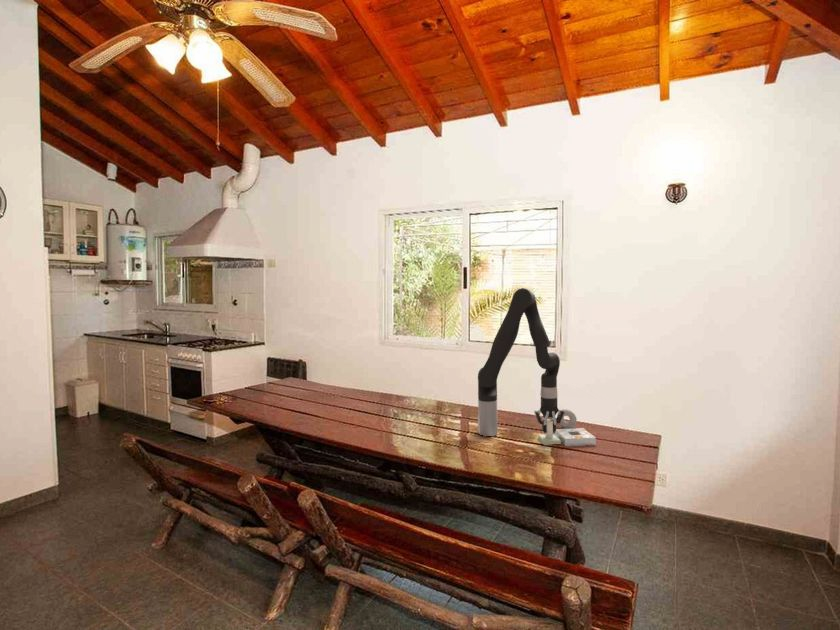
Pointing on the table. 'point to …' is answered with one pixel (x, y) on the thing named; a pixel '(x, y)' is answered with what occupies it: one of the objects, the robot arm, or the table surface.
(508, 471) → the table surface
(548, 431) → the peg
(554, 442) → the square base plate
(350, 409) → the table surface
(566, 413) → the donut
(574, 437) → the flange
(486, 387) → the robot arm
